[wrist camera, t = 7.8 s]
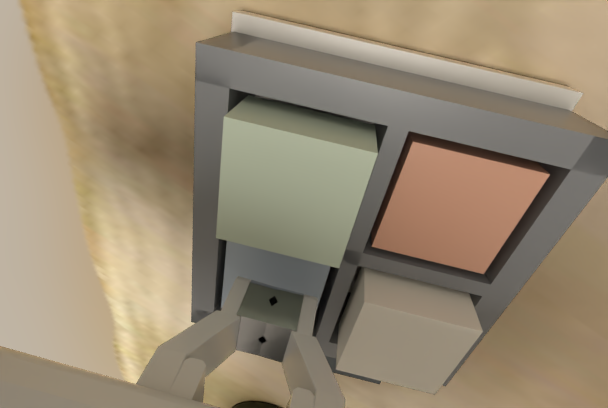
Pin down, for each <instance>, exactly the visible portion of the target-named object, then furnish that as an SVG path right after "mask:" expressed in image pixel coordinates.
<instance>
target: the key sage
mask: <svg viewBox="0 0 608 408" xmlns="http://www.w3.org/2000/svg"><path fill="white" fill-rule="evenodd" d="M377 155H378V149H377V139H376V129H375V125H372V124H368V123H364V122H359V121H355V120H351V119H347V118H343V117H338V116H334V115H330V114H326V113H322V112H317V111H313V110H309V109H305V108H301V107H296V106H292V105H288V104H284V103H280V102H275V101H271V100H267V99H263V98H259V97H254V96H250V95H248V96H247V97H246V98H244V99H243V100H242V101H241V102H240V103H239V104H238V105H236V106H235V107H234V108H233V109H232V110H231V111H230V112H228V113H227V114H226V115H225V116H224V120H223V136H222V151H221V167H220V182H219V198H218V214H217V229H216V238H218V239H222V240H226V241H230V242H234V243H238V244H242V245H246V246H250V247H254V248H259V249H263V250H267V251H271V252H275V253H279V254H283V255H287V256H291V257H295V258H299V259H303V260H307V261H311V262H315V263H319V264H323V265H327V266H331V267H335V268H339V267H340V264H341V261H342V258H343V255H344V252H345V249H346V246H347V243H348V240H349V237H350V234H351V232H352V229H353V226H354V223H355V220H356V217H357V214H358V211H359V208H360V205H361V202H362V199H363V196H364V193H365V190H366V187H367V184H368V181H369V179H370V176H371V173H372V170H373V167H374V164H375V161H376V158H377Z"/></svg>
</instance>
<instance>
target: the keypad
mask: <svg viewBox="0 0 608 408" xmlns="http://www.w3.org/2000/svg"><path fill="white" fill-rule="evenodd" d="M248 95H250V96H254V97H259V98H263V99H267V100H271V101H275V102H280V103H284V104H288V105H292V106H296V107H301V108H305V109H309V110H313V111H317V112H322V113H326V114H330V115H334V116H338V117H343V118H347V119H351V120H355V121H359V122H364V123H368V124H372V125H375V129H376V139H377V149H378V155H377V158H376V161H375V164H374V167H373V170H372V173H371V176H370V179H369V181H368V184H367V187H366V190H365V193H364V196H363V199H362V202H361V205H360V208H359V211H358V214H357V217H356V220H355V223H354V226H353V229H352V232H351V234H350V237H349V240H348V243H347V246H346V249H345V252H344V255H343V258H342V261H341V264H340V267H339V268H335V267H330V270H329V273H328V276H327V280H326V283H325V286H324V289H323V292H322V295H321V298H320V301H319V305H318V308H317V311H316V315H315V322H314V328H313V334H312V336H313V337H316V338H317V340H318V342H319V344H320V347H321V349H322V351H323V353H324V355H325V357H326V359H327V361H328V364H329V366H330V368H331V370H332V372H334V373H338V374H342V375H345V376H349V377H353V378H357V379H361V380H365V381H369V382H373V383H377V384H380V383H381V381H379V380H375V379H371V378H367V377H363V376H359V375H355V374H351V373H347V372H343V371H339V370H336V358H337V344H338V330H339V323H340V320H341V317H342V315H343V312H344V310H345V307H346V304H347V302H348V299H349V297H350V294H351V292H352V289H353V286H354V284H355V281H356V279H357V276H358V273H359V271H360V268H361V266H362V267H366V268H370V269H374V270H378V271H382V272H386V273H390V274H394V275H398V276H402V277H406V278H410V279H414V280H418V281H422V282H427V283H431V284H435V285H439V286H443V287H447V288H451V289H455V290H459V291H463V292H467V293H469V294H470V297H471V300H472V302H473V305H474V308H475V311H476V314H477V316H478V319H479V322H480V325H481V327H482V330H483V332H482V334H481V335H480V336H479V338H478V339H477V340H476V341H475V343H474V344H473V345H472V347H471V348H470V349H469V351H468V352H467V353H466V355H465V356H464V357H463V358H462V360H461V361H460V362H459V364H458V365H457V366H456V368H455V369H454V370H453V372H452V373H451V374H450V376H449V377H448V378H447V379H446V381H445V382H444V383H443V385H442V386H446V385H447V384H448V382H449V381H450V380H451V379H452V377H453V376H454V375H455V373H456V372H457V371H458V370H459V368H460V367H461V366H462V364H463V363H464V362H465V360H466V359H467V358H468V357H469V355H470V354H471V353H472V351H473V350H474V349H475V348H476V346H477V345H478V344H479V342H480V341H481V340H482V339H483V337H484V336H485V335H486V333H487V332H488V331H489V330H490V328H491V327H492V326H493V324H494V323H495V322H496V321H497V319H498V318H499V317H500V315H501V314H502V313H503V311H504V310H505V309H506V308H507V306H508V305H509V304H510V302H511V301H512V300H513V299H514V297H515V296H516V295H517V293H518V292H519V291H520V290H521V288H522V287H523V286H524V284H525V283H526V282H527V281H528V279H529V278H530V277H531V275H532V274H533V273H534V272H535V270H536V269H537V268H538V266H539V265H540V264H541V263H542V261H543V260H544V259H545V257H546V256H547V255H548V253H549V252H550V251H551V250H552V248H553V247H554V246H555V244H556V243H557V242H558V241H559V239H560V238H561V237H562V235H563V234H564V233H565V232H566V230H567V229H568V228H569V226H570V225H571V224H572V223H573V221H574V220H575V219H576V217H577V216H578V215H579V214H580V212H581V211H582V210H583V208H584V207H585V206H586V204H587V203H588V202H589V201H590V199H591V198H592V197H593V195H594V194H595V193H596V192H597V190H598V189H599V188H600V186H601V185H602V184H603V183H604V181H605V180H606V179H607V177H608V131H606V130H605V129H603V128H601V127H599V126H597V125H596V124H594V123H592V122H590V121H588V120H586V119H585V118H583V117H581V116H579V115H577V114H576V113H574V112H572V110H573V109H574V107H575V106H576V104H577V103H578V101H579V99H580V98H581V96H582V95H583V93H582V92H580V91H577V90H575V89H573V88H571V87H568V86H564V85H560V84H556V83H552V82H547V81H543V80H539V79H534V78H530V77H526V76H521V75H517V74H513V73H509V72H504V71H500V70H496V69H491V68H487V67H483V66H478V65H474V64H470V63H466V62H461V61H457V60H453V59H448V58H444V57H440V56H435V55H431V54H427V53H423V52H418V51H414V50H410V49H405V48H401V47H397V46H392V45H388V44H384V43H380V42H375V41H371V40H367V39H362V38H358V37H354V36H350V35H345V34H341V33H337V32H332V31H328V30H324V29H319V28H315V27H311V26H307V25H302V24H298V23H294V22H289V21H285V20H281V19H276V18H272V17H268V16H264V15H259V14H255V13H251V12H246V11H242V10H240V11H232V26H231V33H227V34H223V35H220V36H216V37H213V38H209V39H206V40H202V41H198V42H196V66H195V128H194V189H193V251H192V313H191V322H194V323H197V322H199V321H200V320H202V319H203V318H205V317H207V316H208V315H210V314H211V313H213V312H214V311H216V310H219V311H221V310H222V308H221V302H222V291H223V279H224V268H225V257H226V245H227V241H226V240H222V239H218V238H216V229H217V214H218V198H219V182H220V167H221V151H222V136H223V120H224V116H225V115H226V114H227V113H228V112H230V111H231V110H232V109H233V108H234V107H235V106H236V105H238V104H239V103H240V102H241V101H242V100H243V99H244V98H246V97H247V96H248ZM409 131H411V132H415V133H419V134H424V135H428V136H432V137H436V138H440V139H445V140H449V141H453V142H457V143H461V144H466V145H470V146H474V147H478V148H482V149H487V150H491V151H495V152H499V153H503V154H508V155H512V156H516V157H520V158H524V159H529V160H533V161H537V162H538V163H539V164H540V165H541V166H542V167H543V168H544V169H545V170H546V171H547V172H548V173H549V174H550V176H549V177H548V179H547V180H546V182H545V183H544V185H543V186H542V188H541V189H540V191H539V192H538V194H537V195H536V197H535V198H534V200H533V201H532V203H531V204H530V206H529V207H528V209H527V210H526V212H525V213H524V215H523V216H522V218H521V219H520V221H519V222H518V224H517V225H516V227H515V228H514V230H513V231H512V233H511V234H510V236H509V237H508V238H507V240H506V241H505V243H504V244H503V246H502V247H501V249H500V250H499V252H498V253H497V255H496V256H495V258H494V259H493V261H492V262H491V264H490V265H489V267H488V268H487V270H486V271H485V273H484V274H481V273H477V272H473V271H469V270H465V269H461V268H457V267H453V266H448V265H444V264H440V263H436V262H432V261H428V260H424V259H420V258H416V257H412V256H408V255H404V254H400V253H396V252H391V251H387V250H383V249H379V248H375V247H372V240H371V230H372V227H373V224H374V222H375V219H376V216H377V214H378V211H379V209H380V206H381V203H382V201H383V198H384V195H385V193H386V190H387V187H388V185H389V182H390V180H391V177H392V174H393V172H394V169H395V166H396V164H397V161H398V158H399V156H400V153H401V151H402V148H403V145H404V143H405V140H406V137H407V135H408V132H409Z"/></svg>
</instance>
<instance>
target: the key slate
mask: <svg viewBox="0 0 608 408" xmlns="http://www.w3.org/2000/svg"><path fill="white" fill-rule="evenodd" d="M330 267H331V266H327V265H323V264H319V263H315V262H311V261H307V260H303V259H299V258H295V257H291V256H287V255H283V254H279V253H275V252H271V251H267V250H263V249H259V248H254V247H250V246H246V245H242V244H238V243H234V242H230V241H227V245H226V257H225V268H224V279H223V291H222V302H221V308H222V307H223V305H224V303H225V301H226V299H227V297H228V294H229V292H230V290H231V288H232V286H233V284H234V281H235V279H236V278H237V277H238V276H240V277H244V278H247V279H250V280H254V281H258V282H261V283H264V284H268V285H271V286H274V287H279V288H283V289H287V290H291V291H295V292H299V293H302V294H306V295H309V296H313V297H317V298H318V303H317V308H318V305H319V301H320V298H321V295H322V292H323V289H324V286H325V283H326V280H327V276H328V273H329V270H330ZM316 311H317V309H316Z"/></svg>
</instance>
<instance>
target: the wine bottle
mask: <svg viewBox="0 0 608 408" xmlns="http://www.w3.org/2000/svg"><path fill="white" fill-rule="evenodd" d="M233 408H279V407H277V406H274V405H271V404H267V403H262V402H244V403H240V404H238V405H236V406H234V407H233Z"/></svg>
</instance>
